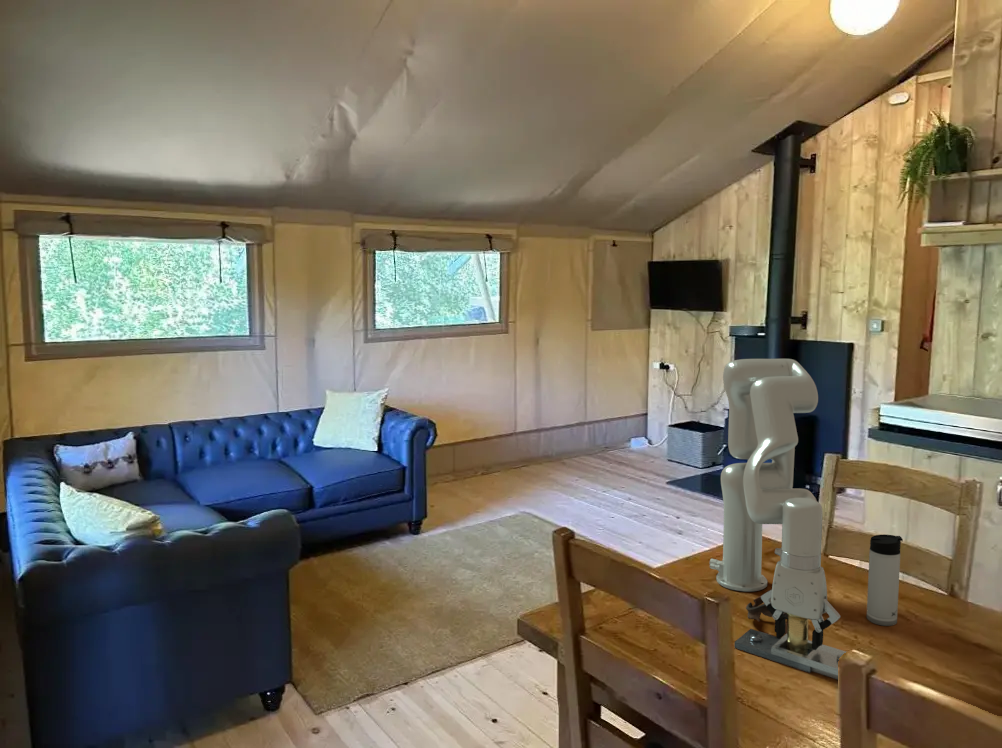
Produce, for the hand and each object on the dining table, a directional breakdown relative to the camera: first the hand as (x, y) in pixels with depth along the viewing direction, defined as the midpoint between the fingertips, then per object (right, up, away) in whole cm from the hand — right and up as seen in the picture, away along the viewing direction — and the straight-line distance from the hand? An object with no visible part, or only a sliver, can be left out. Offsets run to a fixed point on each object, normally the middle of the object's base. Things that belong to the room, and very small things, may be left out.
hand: (798, 641), depth 157 cm
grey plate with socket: (0, -4, +1) cm, 4 cm away
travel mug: (+26, -1, +17) cm, 31 cm away
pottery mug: (+1, -2, +16) cm, 16 cm away
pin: (0, -4, +1) cm, 4 cm away
